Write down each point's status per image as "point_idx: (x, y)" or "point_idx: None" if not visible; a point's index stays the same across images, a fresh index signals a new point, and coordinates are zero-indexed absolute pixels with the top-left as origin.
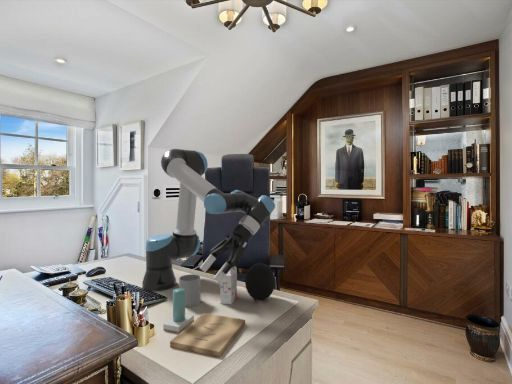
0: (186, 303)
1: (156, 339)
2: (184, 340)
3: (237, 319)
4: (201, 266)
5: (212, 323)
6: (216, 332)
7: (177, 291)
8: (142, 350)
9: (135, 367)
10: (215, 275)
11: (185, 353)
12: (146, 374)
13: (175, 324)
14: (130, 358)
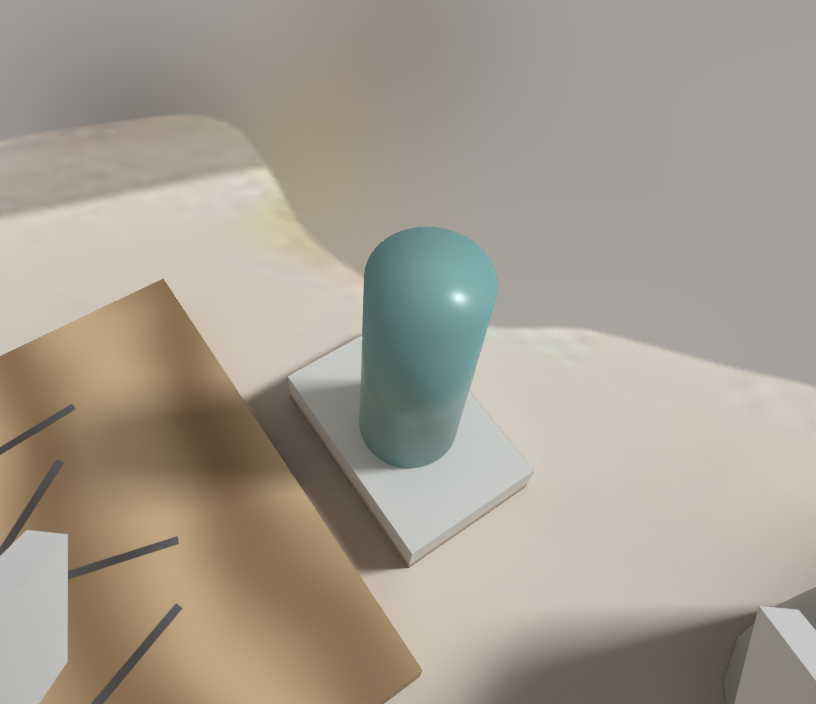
0: (751, 633)
1: (308, 267)
2: (102, 346)
3: None
4: (784, 632)
5: (170, 633)
6: None
7: (405, 257)
8: (244, 184)
9: (118, 128)
10: (35, 559)
11: (27, 336)
12: (23, 145)
13: (343, 371)
14: (212, 131)
